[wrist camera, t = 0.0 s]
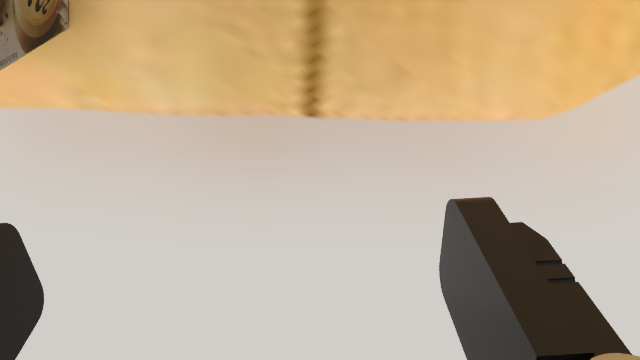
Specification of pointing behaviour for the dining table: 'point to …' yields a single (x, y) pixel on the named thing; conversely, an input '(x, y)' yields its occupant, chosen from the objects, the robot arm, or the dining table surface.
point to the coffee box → (29, 26)
